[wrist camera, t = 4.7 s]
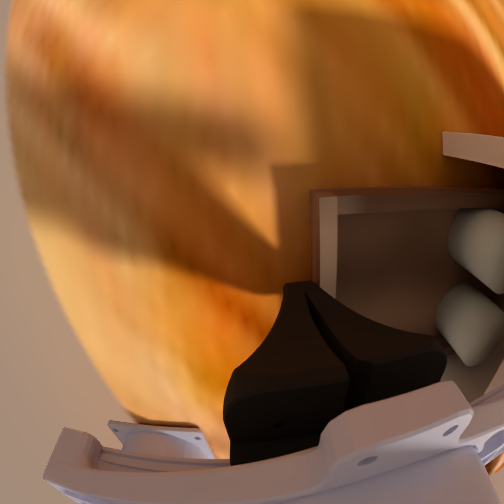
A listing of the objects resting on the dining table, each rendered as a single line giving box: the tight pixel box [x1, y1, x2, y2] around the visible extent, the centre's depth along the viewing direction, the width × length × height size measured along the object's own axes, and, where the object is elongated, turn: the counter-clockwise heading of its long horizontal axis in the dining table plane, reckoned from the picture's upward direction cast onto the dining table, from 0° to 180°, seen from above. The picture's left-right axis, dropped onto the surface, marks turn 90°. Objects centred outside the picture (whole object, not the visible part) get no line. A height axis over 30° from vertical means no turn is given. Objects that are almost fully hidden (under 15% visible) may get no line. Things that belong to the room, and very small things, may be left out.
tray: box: [310, 186, 504, 355], centre depth 13 cm, size 10×14×2 cm
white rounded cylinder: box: [434, 282, 504, 367], centre depth 12 cm, size 4×4×4 cm
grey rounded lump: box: [448, 208, 504, 294], centre depth 10 cm, size 4×4×4 cm
